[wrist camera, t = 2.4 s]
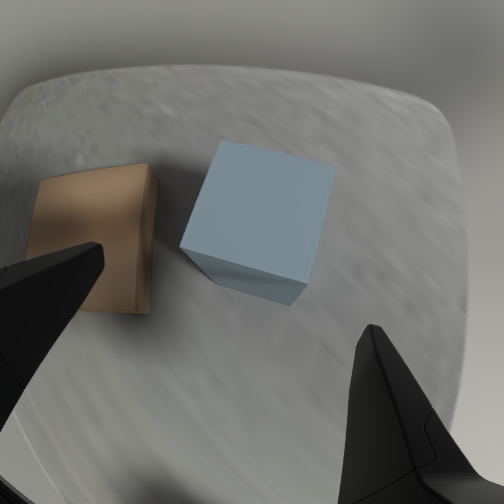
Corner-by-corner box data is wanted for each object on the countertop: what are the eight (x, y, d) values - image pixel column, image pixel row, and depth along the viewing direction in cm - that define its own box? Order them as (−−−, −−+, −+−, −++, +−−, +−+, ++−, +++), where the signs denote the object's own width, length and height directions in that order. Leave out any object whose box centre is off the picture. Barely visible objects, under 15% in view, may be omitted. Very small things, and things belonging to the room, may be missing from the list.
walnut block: (151, 314, 20) (134, 311, 18) (44, 308, 21) (21, 303, 18) (160, 182, 23) (147, 162, 20) (59, 194, 23) (40, 180, 21)
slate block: (290, 305, 20) (308, 283, 11) (216, 284, 20) (179, 246, 12) (309, 234, 21) (336, 167, 12) (238, 215, 22) (221, 139, 13)
